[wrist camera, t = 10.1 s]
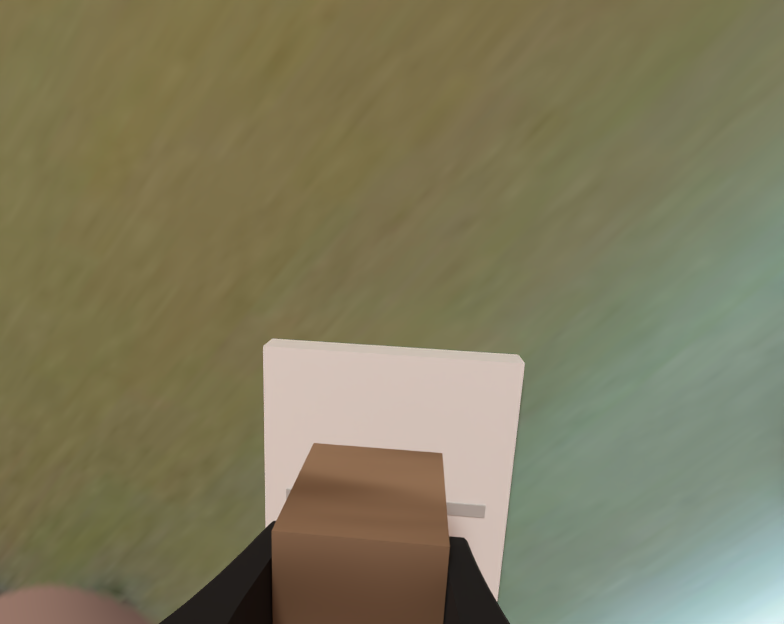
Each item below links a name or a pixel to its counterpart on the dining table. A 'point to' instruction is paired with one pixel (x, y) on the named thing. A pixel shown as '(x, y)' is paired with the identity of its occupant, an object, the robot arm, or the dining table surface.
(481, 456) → the baseplate
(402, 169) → the dining table surface
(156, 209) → the dining table surface
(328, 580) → the walnut block
